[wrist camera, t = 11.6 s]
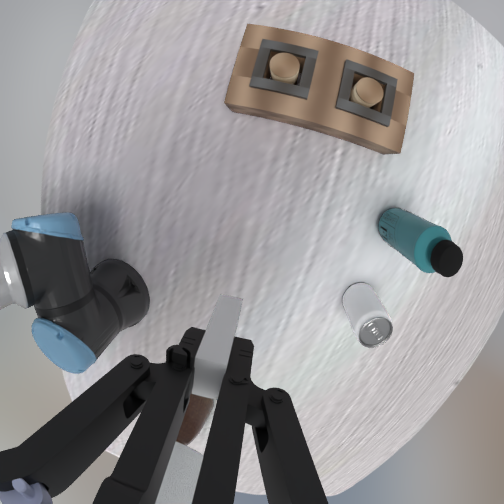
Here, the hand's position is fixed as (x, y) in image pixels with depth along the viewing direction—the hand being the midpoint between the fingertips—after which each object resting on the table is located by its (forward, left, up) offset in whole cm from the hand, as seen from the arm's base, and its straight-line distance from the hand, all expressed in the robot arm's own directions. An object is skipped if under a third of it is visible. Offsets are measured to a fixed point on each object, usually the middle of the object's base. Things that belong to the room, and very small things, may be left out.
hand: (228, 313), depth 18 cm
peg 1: (-2, +24, -28) cm, 37 cm away
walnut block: (+4, +24, -29) cm, 38 cm away
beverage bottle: (+22, +6, -29) cm, 37 cm away
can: (+21, -9, -29) cm, 37 cm away
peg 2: (+10, +24, -28) cm, 38 cm away
